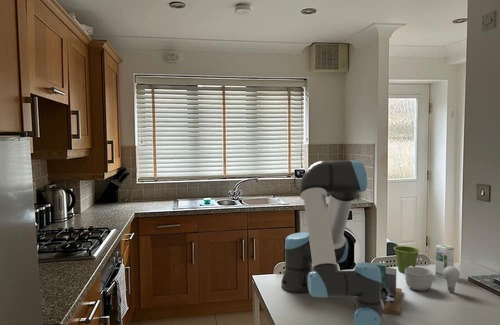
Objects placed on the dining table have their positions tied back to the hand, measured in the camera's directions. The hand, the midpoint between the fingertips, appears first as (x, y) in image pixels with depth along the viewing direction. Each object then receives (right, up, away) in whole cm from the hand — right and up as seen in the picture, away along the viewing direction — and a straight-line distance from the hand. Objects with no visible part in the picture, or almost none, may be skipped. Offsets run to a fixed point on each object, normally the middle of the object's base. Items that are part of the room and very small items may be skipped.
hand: (379, 282), depth 140 cm
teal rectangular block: (+3, -5, +7) cm, 9 cm away
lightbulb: (+34, -8, +10) cm, 36 cm away
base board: (+1, -8, +4) cm, 9 cm away
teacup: (+23, -8, +17) cm, 29 cm away
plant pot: (+27, -7, +37) cm, 46 cm away
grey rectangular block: (+3, -7, +7) cm, 10 cm away
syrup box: (+42, -7, +30) cm, 52 cm away
